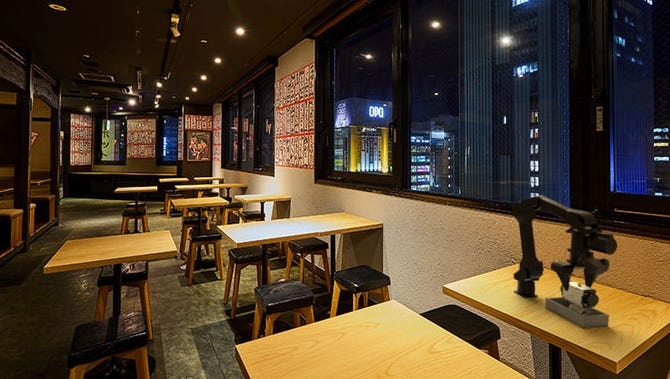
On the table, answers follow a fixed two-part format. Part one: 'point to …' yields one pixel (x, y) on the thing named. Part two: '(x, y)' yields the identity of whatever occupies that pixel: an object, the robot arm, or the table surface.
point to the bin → (589, 321)
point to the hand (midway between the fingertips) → (577, 289)
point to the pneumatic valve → (580, 297)
